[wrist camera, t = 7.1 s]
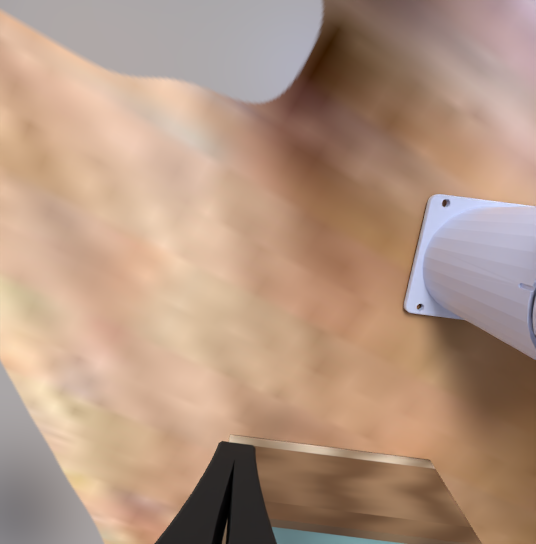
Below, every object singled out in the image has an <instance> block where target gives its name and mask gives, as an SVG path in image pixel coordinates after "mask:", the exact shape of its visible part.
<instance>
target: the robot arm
mask: <svg viewBox="0 0 536 544" xmlns="http://www.w3.org/2000/svg"><path fill="white" fill-rule="evenodd" d="M443 200H446V201H447V204H446V206H445V207H443V206H442V202H443ZM419 304H421V308H420V309H417V305H419ZM404 309H405V310H406V311H408V312H409V313H414V314H422V315H429V316H437V317H445V318H453V319H461V320H466V321H468V322H470V323H472V324H473V325H475V326H477V327H479V328H480V329H482V330H484V331H486V332H487V333H489V334H491V335H493V336H494V337H496V338H498V339H499V340H501V341H503V342H505V343H506V344H508V345H510V346H512V347H513V348H515V349H517V350H519V351H520V352H522V353H524V354H526V355H527V356H529V357H531V358H533V359H534V360H536V206H528V205H520V204H513V203H505V202H497V201H489V200H481V199H474V198H466V197H458V196H450V195H443V194H436V195H432V196H431V197H430V198H429V200H428V202H427V207H426V211H425V215H424V220H423V224H422V228H421V232H420V237H419V241H418V245H417V250H416V254H415V258H414V262H413V267H412V271H411V275H410V279H409V284H408V288H407V292H406V297H405V301H404ZM226 523H227V532H226V544H277V542H276V539H275V536H274V533H273V530H272V527H271V523H270V520H269V517H268V513H267V510H266V506H265V502H264V498H263V494H262V490H261V486H260V481H259V476H258V470H257V463H256V448H255V447H254V446H253V445H248V444H240V443H233V442H225V441H222V442H220V443H219V444H218V447H217V449H216V452H215V454H214V456H213V458H212V460H211V462H210V464H209V465H208V467H207V469H206V471H205V473H204V474H203V476H202V478H201V479H200V481H199V482H198V484H197V486H196V487H195V489H194V491H193V492H192V494H191V495H190V497H189V498H188V500H187V501H186V502H185V504H184V505H183V507H182V508H181V510H180V511H179V513H178V514H177V515H176V517H175V518H174V519H173V521H172V522H171V523H170V525H169V526H168V527H167V529H166V530H165V531H164V533H163V534H162V535H161V536H160V538H159V539H158V540H157V541H156V543H155V544H222V540H223V536H224V532H225V527H226Z"/></svg>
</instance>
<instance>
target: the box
mask: <svg viewBox="0 0 536 544" xmlns="http://www.w3.org/2000/svg"><path fill="white" fill-rule="evenodd" d="M229 442H233V443H240V444H248V445H253V446H254V447H255V448H256V463H257V470H258V476H259V481H260V486H261V490H262V494H263V498H264V502H265V506H266V510H267V513H268V517H269V520H270V523H271V527H277V528H285V529H293V530H301V531H309V532H317V533H325V534H332V535H340V536H348V537H356V538H364V539H372V540H380V541H388V542H396V543H404V544H482V543H481V542H480V540H479V538H478V537H477V535H476V533H475V532H474V530H473V529H472V527H471V525H470V524H469V522H468V521H467V519H466V517H465V516H464V514H463V513H462V511H461V509H460V508H459V506H458V504H457V503H456V501H455V500H454V498H453V496H452V495H451V493H450V492H449V490H448V488H447V487H446V485H445V484H444V482H443V480H442V479H441V477H440V476H439V474H438V472H437V471H436V469H435V467H434V466H433V464H432V463H431V461H430V460H425V459H418V458H410V457H402V456H394V455H386V454H378V453H370V452H362V451H354V450H347V449H339V448H331V447H323V446H315V445H307V444H299V443H291V442H283V441H276V440H268V439H260V438H252V437H244V436H236V435H230V438H229ZM226 532H227V523H226V527H225V532H224V536H223V540H222V544H226Z"/></svg>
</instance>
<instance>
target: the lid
mask: <svg viewBox="0 0 536 544" xmlns="http://www.w3.org/2000/svg"><path fill="white" fill-rule="evenodd" d="M272 530H273V533H274V536H275V539H276V542H277V544H404V543H396V542H388V541H380V540H372V539H364V538H356V537H348V536H340V535H332V534H325V533H317V532H309V531H301V530H293V529H285V528H277V527H272Z"/></svg>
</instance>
